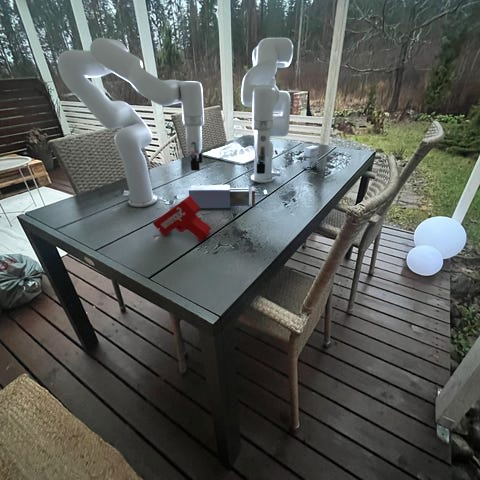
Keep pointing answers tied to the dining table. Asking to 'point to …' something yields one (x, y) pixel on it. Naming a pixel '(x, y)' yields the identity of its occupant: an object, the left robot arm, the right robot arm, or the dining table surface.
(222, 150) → the relief map
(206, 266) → the dining table surface
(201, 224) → the toy gun
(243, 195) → the drawer
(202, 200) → the cabinet
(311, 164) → the ink box
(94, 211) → the dining table surface
